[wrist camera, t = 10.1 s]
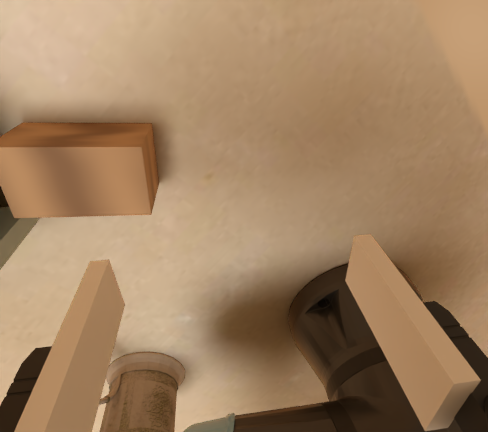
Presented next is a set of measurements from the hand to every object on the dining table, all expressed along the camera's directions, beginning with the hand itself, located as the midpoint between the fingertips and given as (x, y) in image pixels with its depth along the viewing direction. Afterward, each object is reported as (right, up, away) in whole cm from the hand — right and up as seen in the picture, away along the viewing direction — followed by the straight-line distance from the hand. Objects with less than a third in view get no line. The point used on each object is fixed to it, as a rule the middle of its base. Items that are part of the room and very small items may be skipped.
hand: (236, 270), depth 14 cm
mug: (-14, -17, +26) cm, 34 cm away
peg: (-11, +7, +11) cm, 17 cm away
